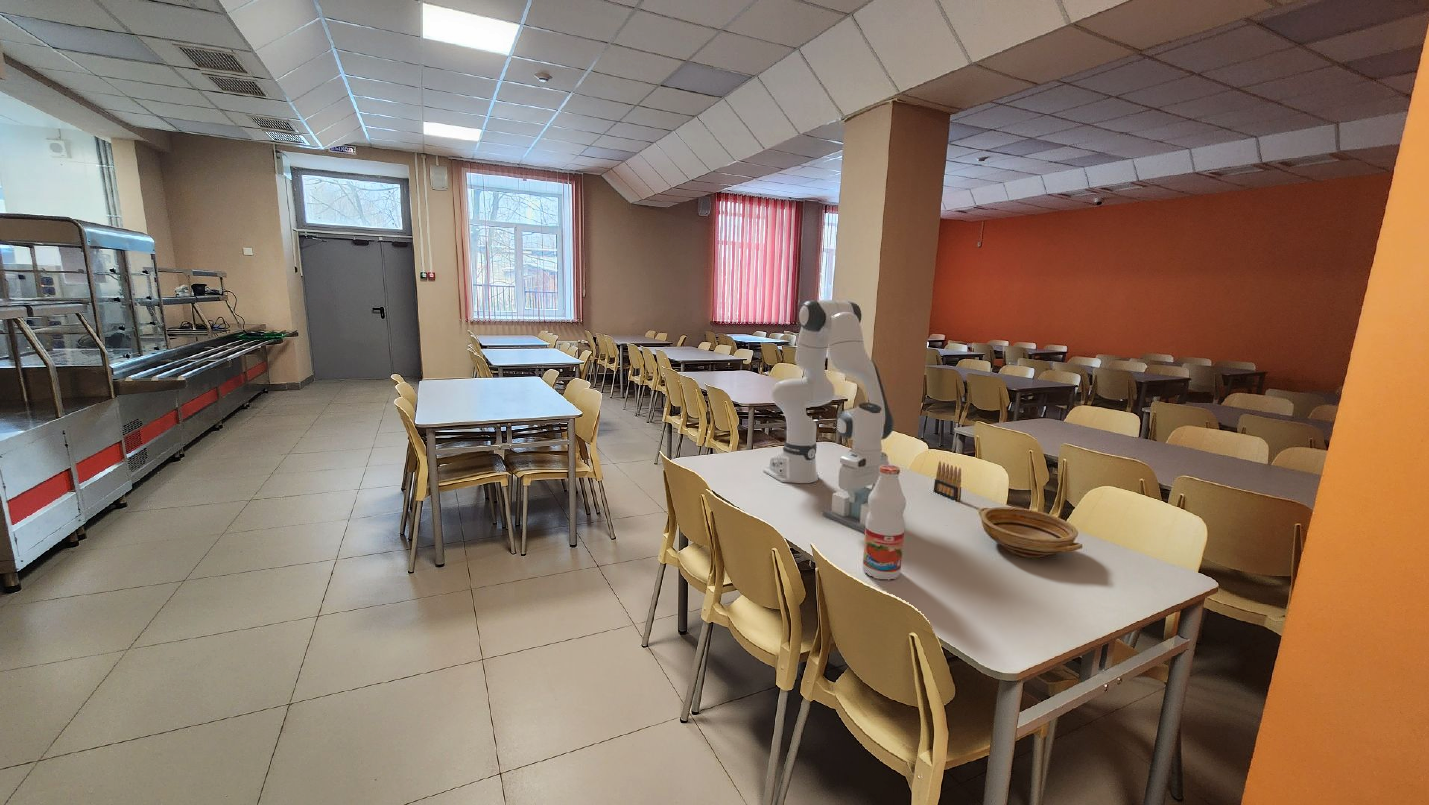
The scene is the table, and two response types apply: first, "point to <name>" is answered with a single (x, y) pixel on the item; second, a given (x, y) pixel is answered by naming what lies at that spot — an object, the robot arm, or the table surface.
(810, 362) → the robot arm
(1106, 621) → the table surface
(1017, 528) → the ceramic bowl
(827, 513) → the board
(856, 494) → the block
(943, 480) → the ammunition clip
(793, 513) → the table surface
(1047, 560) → the table surface
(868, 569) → the fruit juice
